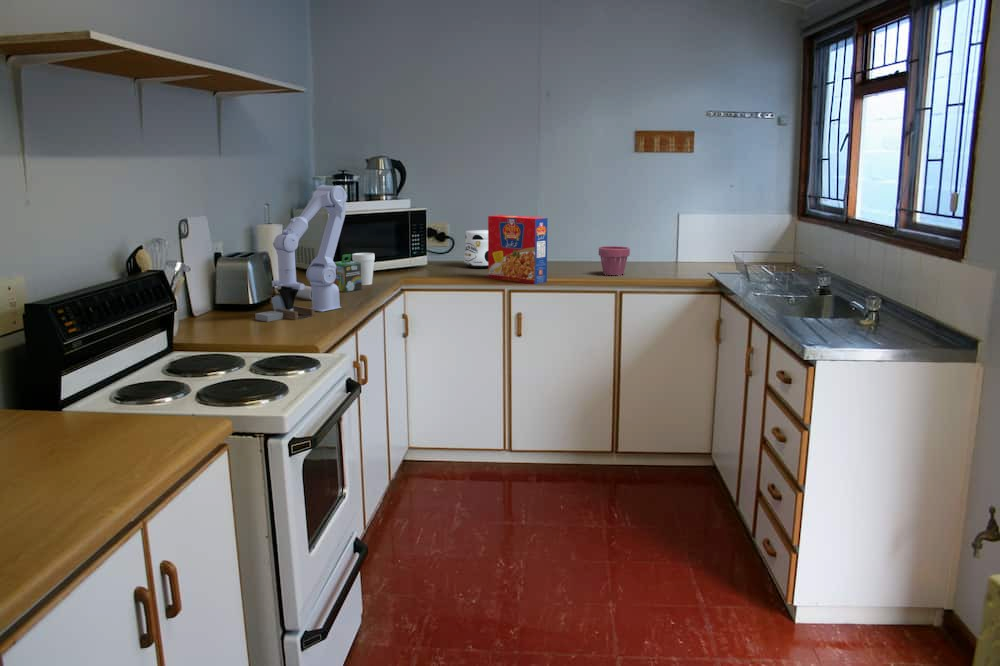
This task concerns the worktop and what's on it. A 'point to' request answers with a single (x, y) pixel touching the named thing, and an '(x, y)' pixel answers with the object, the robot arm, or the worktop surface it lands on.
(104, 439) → the worktop surface
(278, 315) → the stand
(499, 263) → the pasta box
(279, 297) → the block
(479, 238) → the milk container
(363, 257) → the foam cup
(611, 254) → the plant pot
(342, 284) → the chalk box
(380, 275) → the worktop surface
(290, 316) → the channel
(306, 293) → the tube
